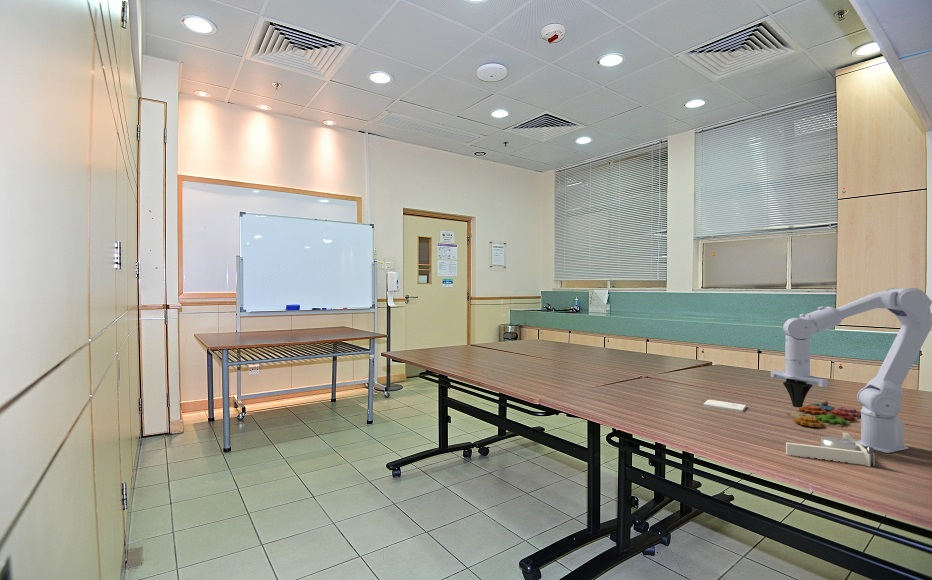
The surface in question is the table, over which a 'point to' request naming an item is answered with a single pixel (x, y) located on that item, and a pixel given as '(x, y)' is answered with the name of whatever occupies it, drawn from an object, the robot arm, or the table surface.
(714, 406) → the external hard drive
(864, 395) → the robot arm
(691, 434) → the table surface
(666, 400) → the table surface
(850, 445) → the translucent glass bowl
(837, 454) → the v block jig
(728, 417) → the table surface
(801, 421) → the gear puzzle
